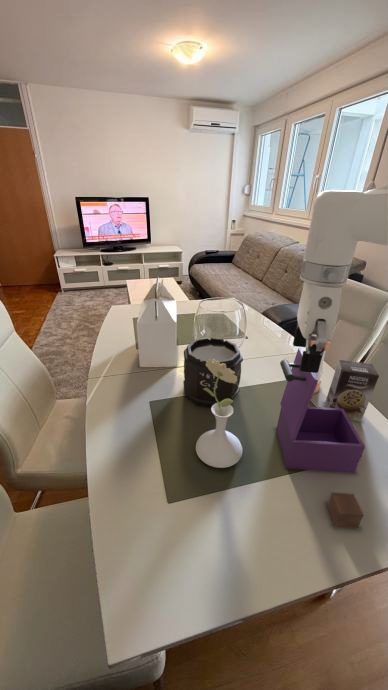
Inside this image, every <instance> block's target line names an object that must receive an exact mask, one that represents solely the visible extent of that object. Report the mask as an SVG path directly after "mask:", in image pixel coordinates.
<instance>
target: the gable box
mask: <svg viewBox="0 0 388 690" xmlns="http://www.w3.org/2000/svg"><path fill="white" fill-rule="evenodd" d="M177 322H178V321H177V300H176V299H175V298H174V297H173V296H172V294H171V292H170V291H169V290H168V289H167V287H166V286H165V285H164V279H163V278H162V279H161V282H160V277H159V276H157V277H156V281H155V283H154V284H153V285H152V286H151V287H150V289H149V291H148V292H147V294H146V296H145V297H144V298H143V300H142V301H141V305H140V309H139V313H138V317H137V320H136V334H137V348H138V359H139V360H138V361H139V368H161V367H162V368H169V367H170V368H171V367H172V368H173V367H177V366H178V345H177V344H178V342H177V341H178V340H177V338H178V337H177V335H178V334H177V333H178V332H177V331H178V330H177V327H178V325H177Z"/></svg>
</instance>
